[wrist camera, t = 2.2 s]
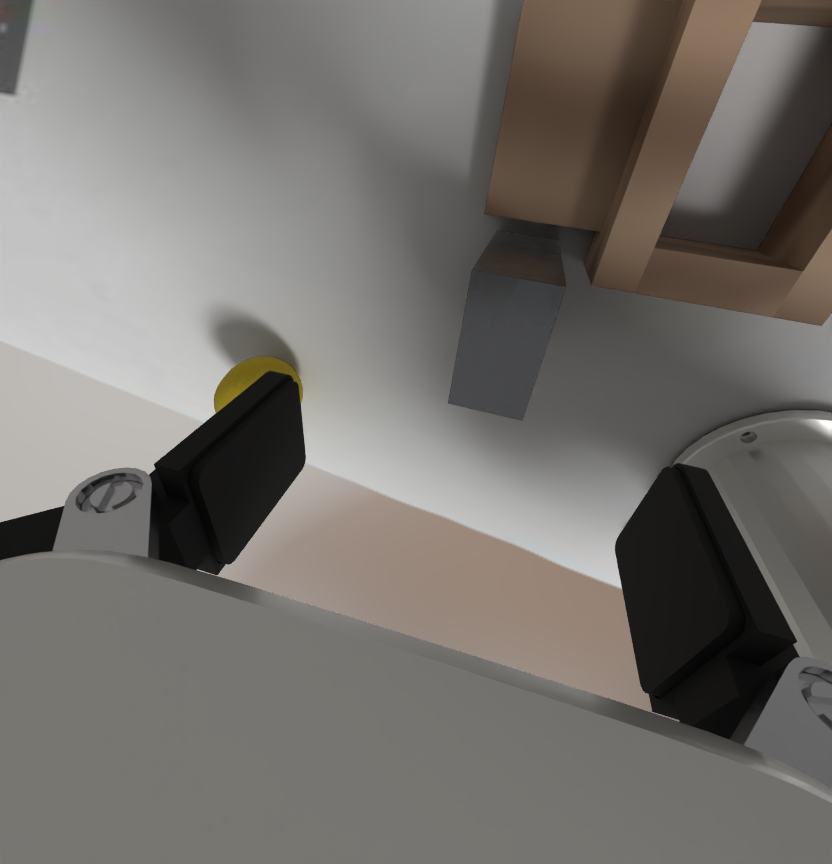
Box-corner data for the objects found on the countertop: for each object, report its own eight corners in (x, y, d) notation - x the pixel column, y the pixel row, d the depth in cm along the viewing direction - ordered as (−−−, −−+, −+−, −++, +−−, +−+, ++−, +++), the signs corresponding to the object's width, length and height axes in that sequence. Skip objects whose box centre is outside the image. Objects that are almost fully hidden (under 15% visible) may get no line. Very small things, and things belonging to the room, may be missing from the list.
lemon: (246, 356, 33) (175, 404, 26) (292, 330, 30) (225, 377, 24) (286, 409, 35) (229, 465, 29) (332, 389, 32) (280, 446, 26)
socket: (903, 318, 20) (980, 353, 16) (481, 247, 23) (469, 264, 20) (1213, -36, 13) (1469, -108, 9) (539, -65, 16) (538, -126, 13)
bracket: (529, 339, 26) (522, 420, 18) (477, 328, 26) (447, 403, 18) (558, 239, 22) (565, 287, 14) (497, 230, 23) (471, 270, 15)
